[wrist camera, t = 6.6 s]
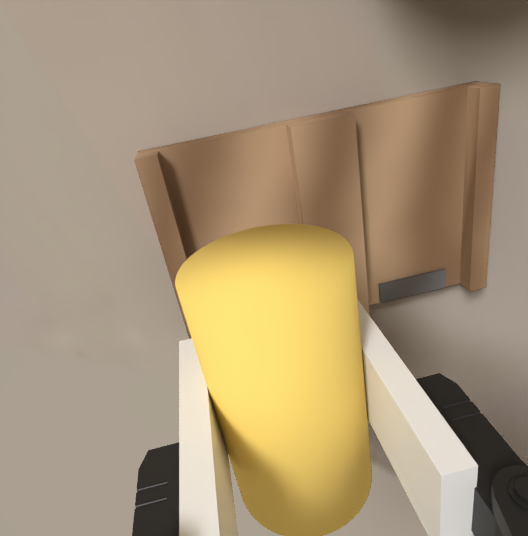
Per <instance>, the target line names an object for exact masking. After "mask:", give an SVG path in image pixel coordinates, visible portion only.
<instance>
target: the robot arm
mask: <svg viewBox="0 0 528 536" xmlns="http://www.w3.org/2000/svg"><path fill="white" fill-rule="evenodd" d="M357 300H358V299H357ZM358 312H359V324H360V336H361V348H362V360H363V372H364V384H365V396H366V408H367V418H368V420H369V422H370V424H371V426H372V428H373V430H374V432H375V434H376V436H377V438H378V440H379V441H380V443H381V445H382V447H383V449H384V451H385V453H386V455H387V457H388V459H389V461H390V463H391V465H392V467H393V469H394V471H395V473H396V474H397V476H398V478H399V480H400V482H401V484H402V486H403V488H404V490H405V492H406V494H407V496H408V498H409V500H410V501H411V504H412V505H413V507H414V509H415V511H416V513H417V515H418V517H419V519H420V521H421V523H422V525H423V527H424V529H425V531H426V533H427V535H428V536H473V534H474V535H475V536H528V466H527V465H526V464H525V463H524V462H523V461H522V460H521V459H520V458H519V457H518V456H517V455H516V453H515V452H514V451H513V450H512V449H511V447H510V446H509V445H508V444H507V443H506V442H505V440H504V439H503V438H502V437H501V436H500V434H499V433H498V432H497V431H496V430H495V428H494V427H493V426H492V425H491V424H490V423H489V421H488V420H487V419H486V418H485V417H484V415H483V414H481V413H480V411H479V409H478V408H477V407H476V406H475V405H474V403H473V402H470V399H469V398H468V396H467V395H466V394H465V393H464V392H463V390H462V389H461V388H460V387H459V386H458V384H456V383H455V382H453V381H451V380H450V379H448V378H446V377H445V376H443V375H441V374H440V373H438V374H435V375H431V376H427V377H423V378H419V379H415V378H414V376H413V375H412V374H411V372H410V371H409V370H408V368H407V367H406V365H405V364H404V363H403V361H402V360H401V358H400V357H399V356H398V354H397V353H396V352H395V350H394V349H393V347H392V346H391V345H390V343H389V342H388V341H387V339H386V338H385V336H384V335H383V334H382V332H381V331H380V330H379V328H378V327H377V325H376V324H375V323H374V321H373V320H372V318H371V317H370V316H369V314H368V313H367V312H366V310H365V309H364V307H363V306H362V305H361V303H360V302H359V301H358ZM135 505H136V509H135V513H134V523H133V533H132V536H238V532H237V524H236V515H235V508H234V500H233V491H232V483H231V475H230V466H229V458H228V452H227V448H226V445H225V442H224V439H223V436H222V432H221V429H220V426H219V423H218V419H217V416H216V413H215V410H214V407H213V403H212V400H211V397H210V394H209V391H208V387H207V385H206V382H205V379H204V376H203V372H202V369H201V366H200V363H199V360H198V357H197V353H196V350H195V347H194V344H193V341H192V338H191V339H187V340H183V341H179V443H175V444H171V445H167V446H163V447H160V448H156V449H152V450H149V451H148V452H147V454H146V456H145V458H144V460H143V462H142V464H141V466H140V468H139V472H138V482H137V493H136V502H135Z"/></svg>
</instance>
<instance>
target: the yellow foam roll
mask: <svg viewBox="0 0 528 536" xmlns="http://www.w3.org/2000/svg"><path fill="white" fill-rule="evenodd" d="M175 287H176V290H177V293H178V297H179V300H180V303H181V306H182V309H183V312H184V316H185V319H186V322H187V325H188V328H189V331H190V334H191V338H192V341H193V344H194V347H195V350H196V353H197V357H198V360H199V363H200V366H201V369H202V372H203V376H204V379H205V382H206V385H207V387H208V391H209V394H210V397H211V400H212V403H213V407H214V410H215V413H216V416H217V419H218V423H219V426H220V429H221V432H222V436H223V439H224V442H225V445H226V448H227V452H228V455H229V458H230V461H231V464H232V467H233V470H234V474H235V477H236V480H237V483H238V486H239V489H240V493H241V496H242V499H243V502H244V504H245V506H246V508H247V509H248V511H249V512H250V513H251V515H252V516H253V517H254V518H255V519H256V520H257V521H258V522H259V523H260V524H261V525H263V526H264V527H266V528H267V529H269V530H271V531H273V532H275V533H277V534H280V535H283V536H323V535H326V534H329V533H331V532H333V531H336V530H338V529H339V528H341V527H342V526H344V525H346V524H347V523H348V522H349V521H350V520H351V519H353V518H354V517H355V516H356V515H357V514H358V512H359V511H360V510H361V508H362V507H363V505H364V503H365V502H366V499H367V497H368V495H369V492H370V488H371V482H372V468H371V456H370V444H369V432H368V420H367V408H366V396H365V384H364V372H363V360H362V348H361V336H360V324H359V312H358V300H357V288H356V276H355V264H354V253H353V249H352V247H351V245H350V243H349V242H348V241H347V240H346V239H345V238H344V237H342V236H341V235H340V234H338V233H336V232H334V231H331V230H329V229H326V228H322V227H318V226H313V225H305V224H277V225H268V226H261V227H255V228H251V229H247V230H243V231H239V232H236V233H233V234H230V235H227V236H225V237H222V238H220V239H217V240H215V241H213V242H211V243H209V244H208V245H206V246H204V247H202V248H201V249H199V250H198V251H196V252H195V253H194V254H193V255H191V256H190V257H189V258H188V259H187V260H186V261H185V262H184V263H183V264H182V266H181V267H180V269H179V271H178V273H177V275H176V279H175Z"/></svg>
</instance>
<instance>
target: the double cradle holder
mask: <svg viewBox="0 0 528 536" xmlns="http://www.w3.org/2000/svg"><path fill="white" fill-rule="evenodd" d="M499 98H500V84H498V83H488V82H477V81H474V82H469V83H464V84H460V85H455V86H450V87H445V88H440V89H436V90H431V91H426V92H421V93H416V94H412V95H407V96H402V97H397V98H392V99H388V100H383V101H378V102H373V103H368V104H364V105H359V106H354V107H349V108H344V109H340V110H335V111H330V112H325V113H320V114H315V115H311V116H306V117H301V118H296V119H291V120H287V121H282V122H277V123H272V124H267V125H263V126H258V127H253V128H248V129H243V130H239V131H234V132H229V133H224V134H219V135H215V136H210V137H205V138H200V139H195V140H191V141H186V142H181V143H176V144H171V145H167V146H162V147H157V148H152V149H147V150H142V151H138V153H137V156H136V158H135V160H134V161H135V164H136V167H137V171H138V174H139V177H140V180H141V184H142V187H143V190H144V193H145V197H146V200H147V203H148V206H149V210H150V213H151V216H152V219H153V222H154V226H155V229H156V232H157V235H158V239H159V242H160V245H161V248H162V252H163V255H164V258H165V261H166V265H167V268H168V271H169V274H170V278H171V281H172V284H173V287H174V291H175V294H176V297H177V300H178V304H179V307H180V310H181V313H182V317H183V320H184V323H185V326H186V330H187V333H188V336H189V339H191V334H190V331H189V328H188V325H187V322H186V319H185V316H184V312H183V309H182V306H181V303H180V300H179V297H178V293H177V290H176V287H175V279H176V275H177V273H178V271H179V269H180V267H181V266H182V264H183V263H184V262H185V261H186V260H187V259H188V258H189V257H190V256H191V255H193V254H194V253H195V252H196V251H198V250H199V249H201V248H202V247H204V246H206V245H208V244H209V243H211V242H213V241H215V240H217V239H220V238H222V237H225V236H227V235H230V234H233V233H236V232H239V231H243V230H247V229H251V228H255V227H261V226H268V225H277V224H305V225H313V226H318V227H322V228H326V229H329V230H331V231H334V232H336V233H338V234H340V235H341V236H342V237H344V238H345V239H346V240H347V241H348V242H349V243H350V245H351V247H352V249H353V253H354V264H355V276H356V288H357V299H358V301H359V302H360V303H361V305H362V306H363V307H364V309H365V310H366V312H367V313H368V314H369V316H370V313H369V305H373V304H377V303H383V302H387V301H392V300H396V299H400V298H404V297H408V296H412V295H416V294H421V293H425V292H429V291H433V290H437V289H441V288H445V287H447V286H451V285H455V284H459V283H460V284H461V285H462V286H464V287H465V288H466V289H467V290H469V291H474V290H478V289H482V288H486V281H487V267H488V253H489V238H490V224H491V210H492V196H493V182H494V168H495V154H496V140H497V126H498V112H499Z"/></svg>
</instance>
